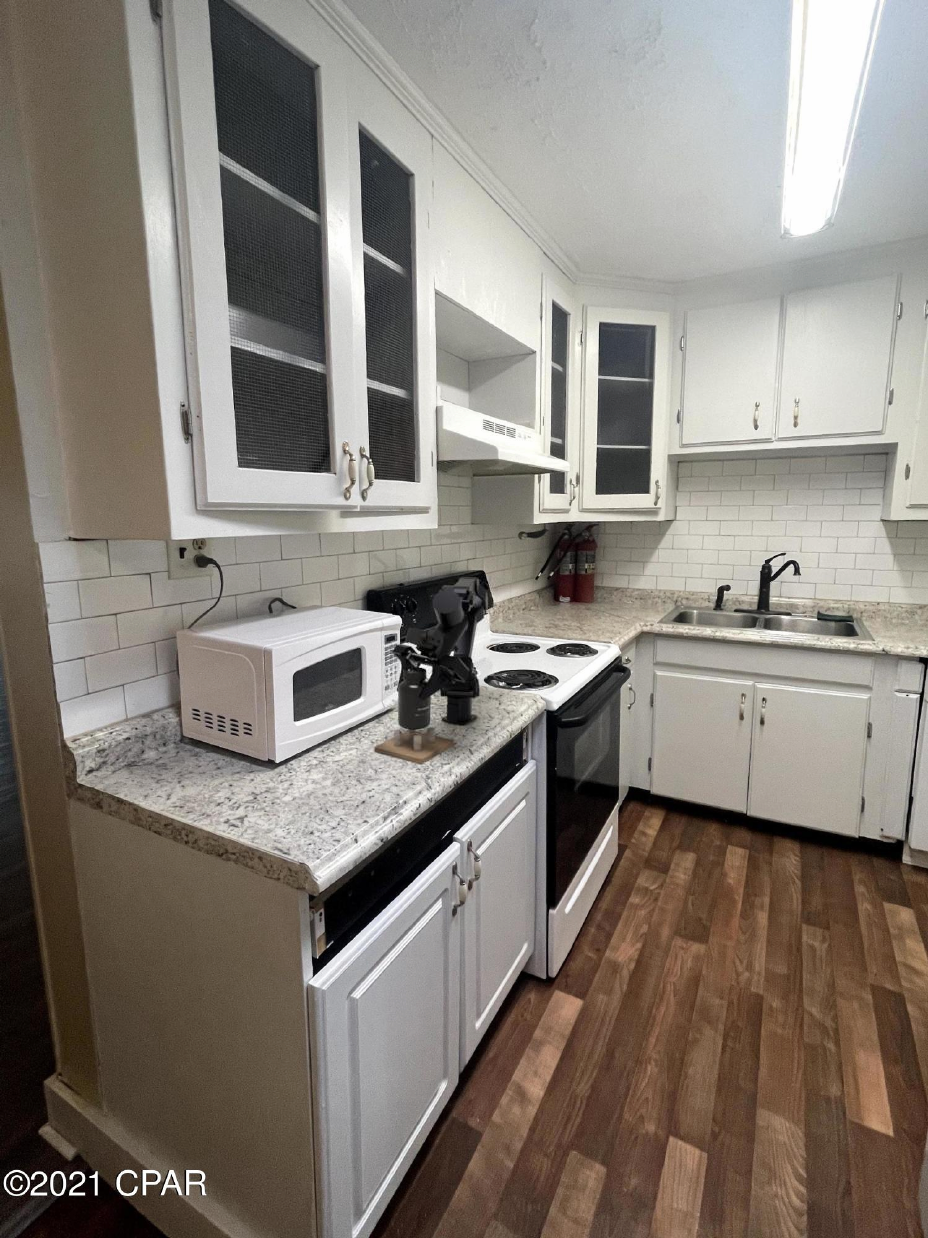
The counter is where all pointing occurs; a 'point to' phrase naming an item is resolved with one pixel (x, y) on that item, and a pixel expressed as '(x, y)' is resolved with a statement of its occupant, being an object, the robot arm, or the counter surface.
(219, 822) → the counter surface
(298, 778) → the counter surface
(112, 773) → the counter surface
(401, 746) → the peg stand
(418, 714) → the supplement bottle
